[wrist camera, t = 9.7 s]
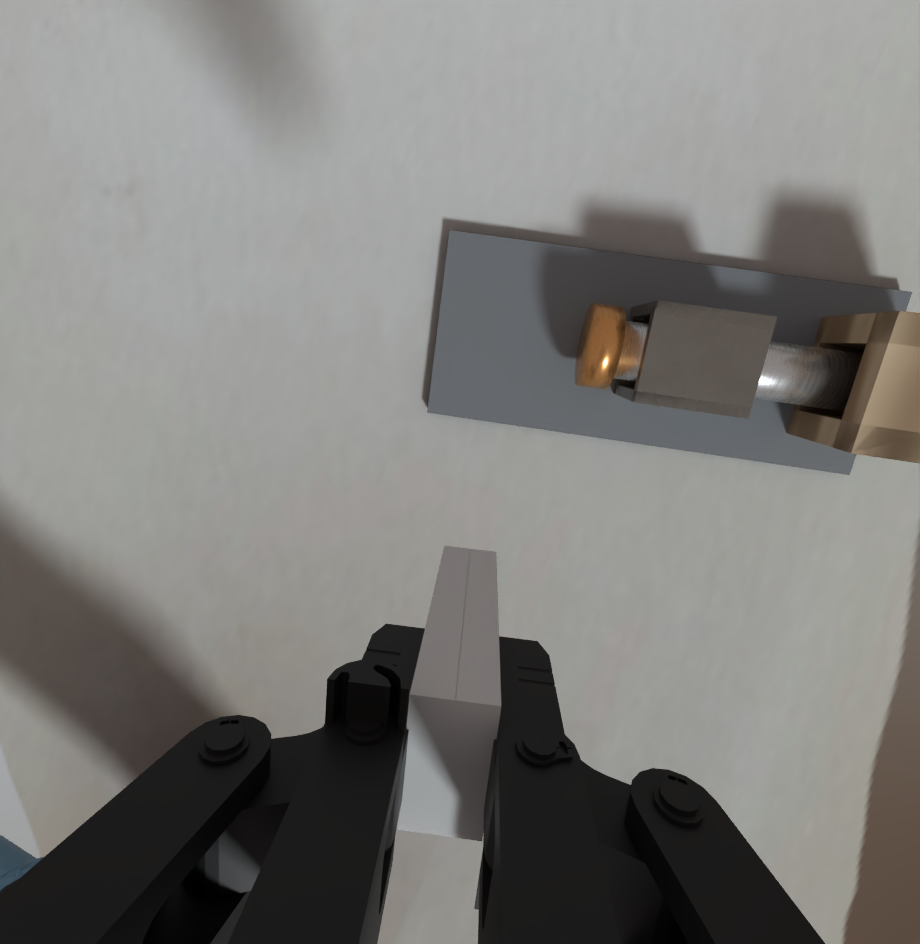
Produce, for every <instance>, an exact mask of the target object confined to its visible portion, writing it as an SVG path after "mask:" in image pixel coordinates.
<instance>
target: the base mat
mask: <svg viewBox="0 0 920 944" xmlns="http://www.w3.org/2000/svg"><path fill="white" fill-rule="evenodd" d="M911 294H912V292H908V291H900V290H893V289H885V288H878V287H870V286H863V285H856V284H848V283H841V282H833V281H826V280H818V279H811V278H803V277H796V276H788V275H781V274H774V273H766V272H759V271H751V270H744V269H736V268H729V267H721V266H714V265H706V264H699V263H691V262H684V261H677V260H669V259H662V258H654V257H647V256H639V255H632V254H624V253H617V252H609V251H602V250H594V249H587V248H580V247H572V246H565V245H557V244H550V243H542V242H535V241H527V240H520V239H512V238H505V237H497V236H490V235H483V234H475V233H468V232H460V231H453V230H449V237H448V246H447V254H446V262H445V270H444V279H443V287H442V295H441V303H440V312H439V320H438V328H437V336H436V344H435V353H434V361H433V369H432V377H431V386H430V394H429V402H428V410H427V412H428V413H435V414H442V415H449V416H455V417H462V418H469V419H476V420H482V421H489V422H496V423H503V424H509V425H516V426H523V427H530V428H536V429H543V430H550V431H557V432H563V433H570V434H577V435H584V436H590V437H597V438H604V439H611V440H617V441H624V442H631V443H638V444H644V445H651V446H658V447H665V448H671V449H678V450H685V451H692V452H698V453H705V454H712V455H719V456H725V457H732V458H739V459H746V460H752V461H759V462H766V463H773V464H779V465H786V466H793V467H800V468H806V469H813V470H820V471H827V472H833V473H840V474H847V475H849V474H850V472H851V469H852V466H853V463H854V460H855V457H856V454H853V453H849V452H845V451H842V450H839V449H836V448H832V447H829V446H826V445H823V444H820V443H816V442H813V441H810V440H807V439H803V438H800V437H797V436H794V435H790V434H787V430H788V427H789V424H790V420H791V417H792V414H793V410H794V407H795V404H789V403H782V402H775V401H768V400H761V399H754V401H753V405H752V408H751V412H750V415H749V419H745V418H738V417H732V416H725V415H718V414H711V413H704V412H697V411H690V410H683V409H676V408H669V407H663V406H656V405H649V404H642V403H635V402H632V401H630V400H628V399H625V398H623V397H621V396H618V395H616V394H614V388H615V383H616V379H615V378H613V380H612V382H611V384H610V386H609V387H608V388H607V389H598V388H591V387H584V386H577V385H576V384H575V364H576V356H577V350H578V344H579V339H580V335H581V331H582V327H583V323H584V320H585V317H586V314H587V311H588V309H589V307H590V305H591V304H592V303H598V304H606V305H613V306H620V307H623V308H624V309H625V314H626V321H629V318H630V313H631V308H632V307H634V306H638V305H642V304H645V303H649V302H652V301H656V300H660V301H667V302H675V303H682V304H689V305H696V306H704V307H711V308H718V309H726V310H733V311H740V312H748V313H755V314H762V315H769V316H777V320H776V324H775V327H774V331H773V334H772V338H771V341H774V342H782V343H789V344H796V345H803V346H810V347H813V345H814V341H815V338H816V335H817V332H818V328H819V325H820V322H821V319H822V317H830V316H842V315H854V314H865V313H877V312H889V311H906V309H907V306H908V303H909V300H910V297H911Z"/></svg>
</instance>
